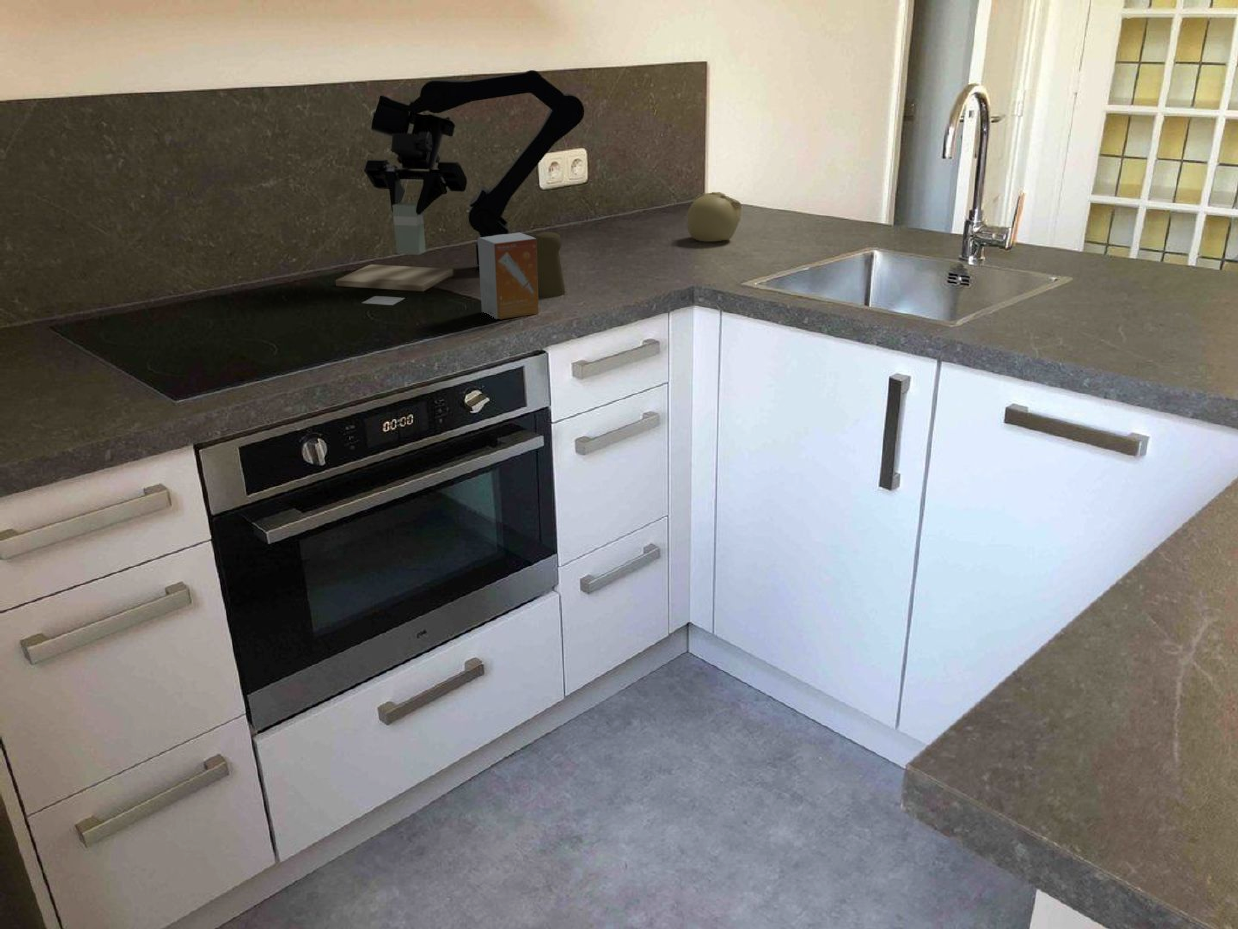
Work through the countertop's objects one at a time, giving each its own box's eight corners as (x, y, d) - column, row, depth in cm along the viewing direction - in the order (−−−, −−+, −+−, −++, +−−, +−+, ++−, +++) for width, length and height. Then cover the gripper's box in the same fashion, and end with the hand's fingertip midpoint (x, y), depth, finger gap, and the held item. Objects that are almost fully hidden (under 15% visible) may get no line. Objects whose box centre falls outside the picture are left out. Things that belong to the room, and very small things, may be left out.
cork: (570, 290, 185) (568, 230, 180) (558, 298, 180) (556, 237, 175) (540, 287, 187) (538, 228, 182) (527, 295, 181) (524, 235, 177)
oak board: (453, 275, 196) (452, 269, 196) (423, 292, 184) (422, 285, 184) (371, 270, 201) (370, 264, 200) (336, 286, 188) (335, 280, 188)
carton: (425, 251, 189) (422, 203, 185) (419, 254, 186) (415, 206, 182) (403, 250, 190) (399, 202, 186) (396, 253, 187) (392, 205, 183)
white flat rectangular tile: (405, 298, 179) (405, 297, 179) (392, 305, 175) (392, 304, 175) (375, 297, 181) (374, 295, 181) (361, 303, 176) (361, 302, 176)
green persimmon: (746, 238, 228) (748, 190, 224) (722, 247, 219) (724, 197, 215) (702, 233, 234) (703, 186, 230) (677, 242, 225) (678, 193, 220)
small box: (497, 321, 166) (493, 243, 161) (481, 312, 171) (476, 236, 165) (540, 313, 170) (537, 237, 165) (522, 305, 175) (519, 231, 169)
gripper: (362, 114, 184) (341, 184, 178) (457, 116, 180) (438, 187, 175) (385, 153, 194) (365, 220, 189) (475, 155, 190) (457, 224, 185)
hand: (405, 212), depth 184 cm, fingers closed on carton, 4 cm apart
